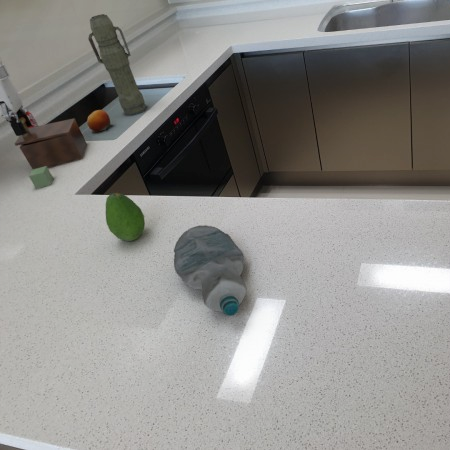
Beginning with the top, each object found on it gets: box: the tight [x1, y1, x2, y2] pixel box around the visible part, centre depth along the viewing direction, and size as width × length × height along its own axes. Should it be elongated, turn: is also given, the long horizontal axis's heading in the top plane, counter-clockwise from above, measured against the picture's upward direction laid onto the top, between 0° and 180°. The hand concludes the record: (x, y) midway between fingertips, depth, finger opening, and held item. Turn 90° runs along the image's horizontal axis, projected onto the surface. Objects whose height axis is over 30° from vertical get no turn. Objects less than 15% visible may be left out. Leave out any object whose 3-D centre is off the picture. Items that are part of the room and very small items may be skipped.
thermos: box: [88, 13, 147, 116], centre depth 170 cm, size 9×12×35 cm
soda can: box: [12, 108, 39, 128], centre depth 167 cm, size 7×7×12 cm
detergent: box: [173, 224, 247, 316], centre depth 85 cm, size 13×7×25 cm
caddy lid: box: [14, 117, 76, 147], centre depth 147 cm, size 16×13×6 cm
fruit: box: [86, 109, 114, 133], centre depth 168 cm, size 8×8×8 cm
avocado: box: [105, 192, 146, 242], centre depth 102 cm, size 8×8×12 cm
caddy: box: [19, 120, 88, 171], centre depth 151 cm, size 16×13×9 cm
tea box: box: [28, 166, 54, 190], centre depth 138 cm, size 4×4×4 cm
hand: (24, 130), depth 147 cm, fingers closed on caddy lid, 6 cm apart
